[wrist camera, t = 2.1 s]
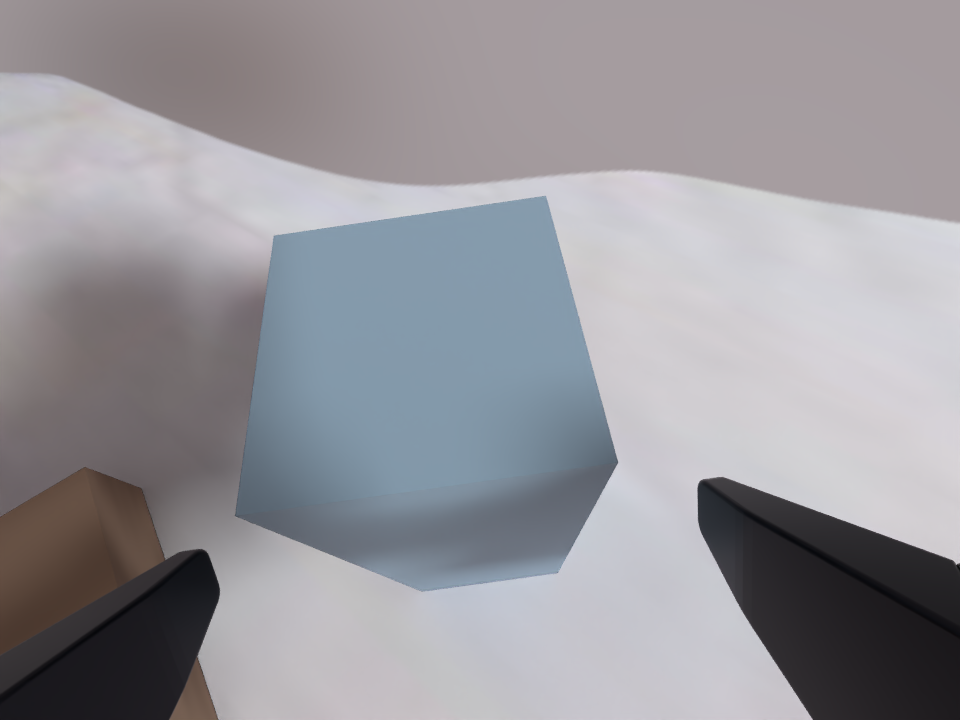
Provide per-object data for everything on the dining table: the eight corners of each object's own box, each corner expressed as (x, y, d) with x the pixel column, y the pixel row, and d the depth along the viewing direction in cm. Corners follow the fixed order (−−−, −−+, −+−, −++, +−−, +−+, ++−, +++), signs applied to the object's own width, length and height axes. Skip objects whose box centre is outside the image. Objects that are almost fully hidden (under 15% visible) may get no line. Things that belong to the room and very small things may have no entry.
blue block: (557, 572, 17) (617, 462, 6) (421, 591, 17) (234, 515, 6) (534, 443, 20) (545, 195, 9) (415, 459, 20) (273, 235, 9)
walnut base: (221, 729, 16) (162, 749, 13) (-110, 984, 14) (-262, 1068, 11) (141, 488, 20) (84, 467, 18) (-119, 648, 18) (-227, 650, 15)
